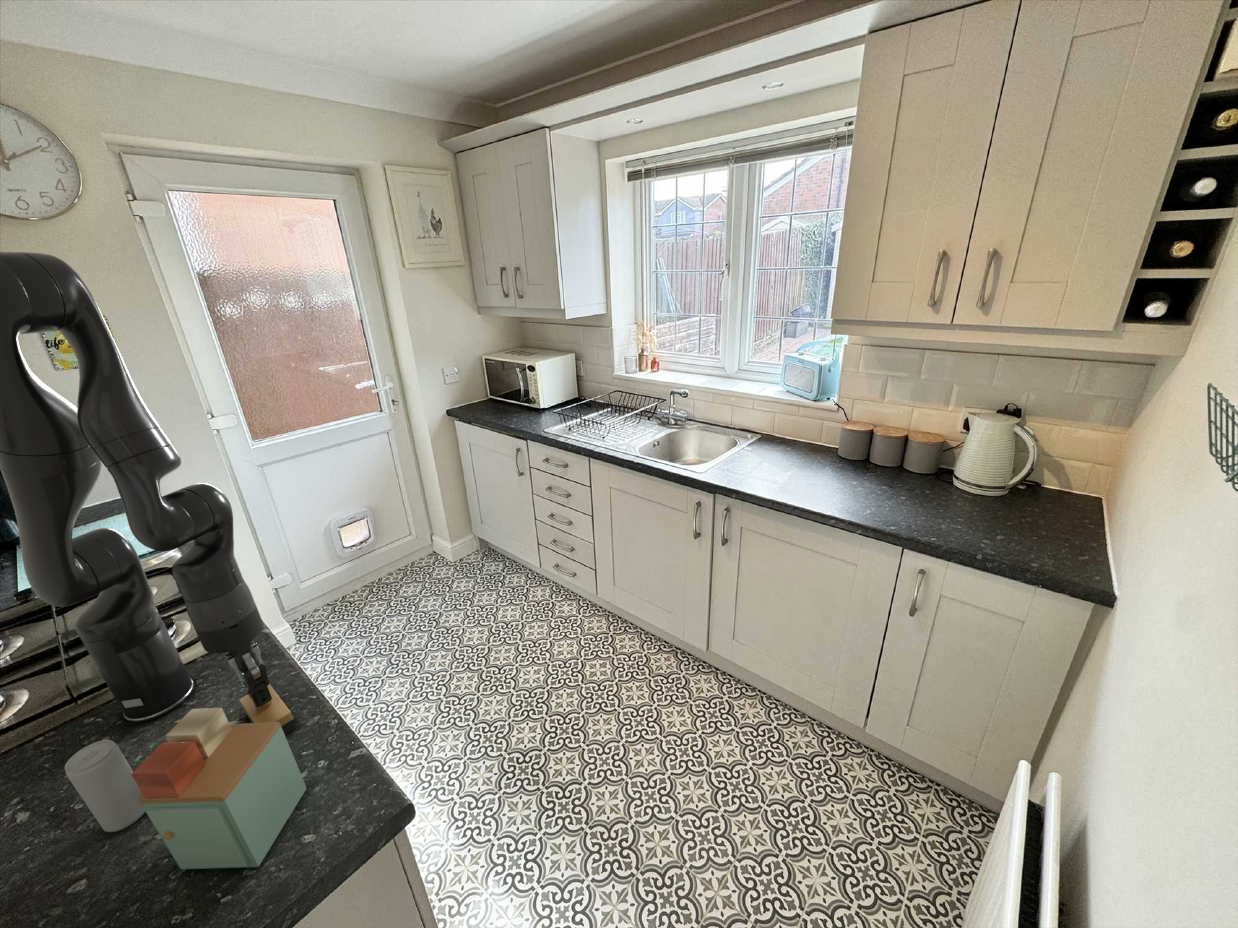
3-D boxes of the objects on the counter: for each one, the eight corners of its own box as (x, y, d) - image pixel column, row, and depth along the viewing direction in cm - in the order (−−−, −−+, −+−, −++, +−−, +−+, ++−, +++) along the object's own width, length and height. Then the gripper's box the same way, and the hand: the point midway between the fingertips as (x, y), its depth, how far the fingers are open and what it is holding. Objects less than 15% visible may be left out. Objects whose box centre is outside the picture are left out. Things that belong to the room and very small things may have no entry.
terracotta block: (175, 765, 60) (162, 742, 58) (206, 764, 59) (194, 741, 58) (145, 798, 56) (130, 774, 54) (178, 796, 56) (165, 773, 54)
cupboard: (239, 790, 70) (206, 724, 65) (307, 787, 70) (279, 721, 65) (174, 877, 60) (130, 806, 55) (253, 874, 59) (216, 803, 55)
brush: (274, 697, 85) (256, 653, 82) (297, 727, 79) (278, 681, 76) (245, 714, 82) (225, 669, 79) (266, 747, 76) (245, 699, 72)
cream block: (203, 730, 64) (191, 708, 63) (232, 729, 64) (221, 707, 63) (177, 758, 60) (164, 735, 59) (208, 757, 60) (196, 734, 59)
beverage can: (160, 799, 69) (125, 739, 65) (125, 835, 65) (84, 773, 60) (130, 797, 70) (94, 737, 65) (94, 833, 65) (51, 771, 61)
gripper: (182, 608, 74) (221, 693, 80) (206, 646, 66) (248, 737, 72) (240, 584, 80) (272, 666, 86) (269, 616, 71) (302, 704, 78)
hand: (261, 698), depth 79 cm, fingers closed on brush, 2 cm apart
